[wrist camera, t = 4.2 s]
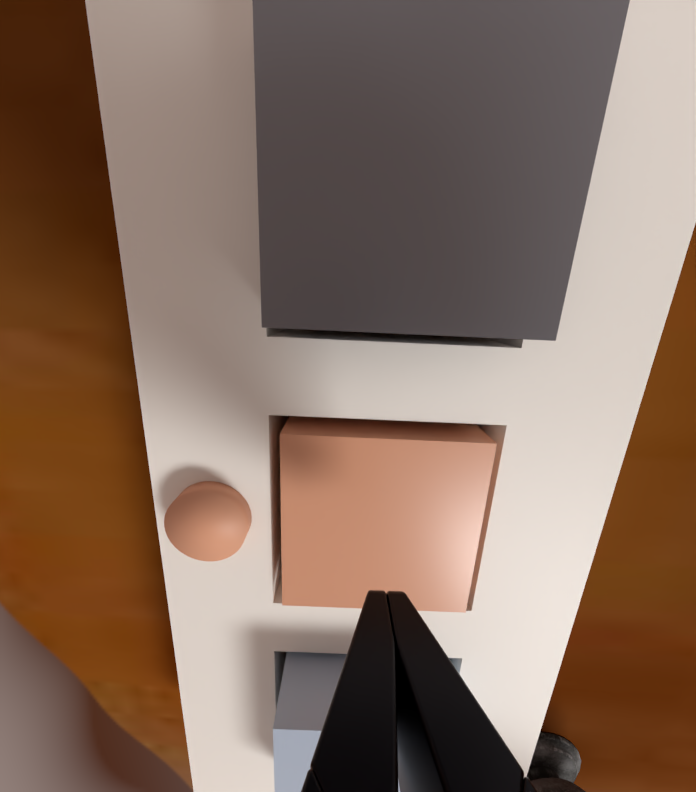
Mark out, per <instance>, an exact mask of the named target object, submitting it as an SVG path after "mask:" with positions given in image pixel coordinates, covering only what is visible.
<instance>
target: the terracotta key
mask: <svg viewBox="0 0 696 792" xmlns="http://www.w3.org/2000/svg"><path fill="white" fill-rule="evenodd" d="M496 446H497V443H496V442H495V441H494V440H493V439H491V438H490V437H489V436H488V435H487V434H486V433H485V432H484V431H483V430H482V429H481V428H480V427H479V426H478V425H477V424H465V423H442V422H419V421H396V420H373V419H350V418H327V417H304V416H289V418H288V420H287V422H286V424H285V425H284V427H283V429H282V431H281V433H280V489H281V559H282V605H286V606H311V607H337V608H362V607H363V604H364V601H365V598H366V595H367V592H368V591H369V590H383V591H385V592H386V593H387V592H388V591H403V592H405V593H406V595H407V596H408V598H409V599H410V601H411V602H412V604H413V605H414V607H415V608H416V610H417V611H438V612H464V613H466V609H467V603H468V598H469V592H470V587H471V581H472V576H473V571H474V565H475V560H476V554H477V549H478V544H479V538H480V533H481V527H482V522H483V516H484V511H485V506H486V500H487V495H488V489H489V484H490V479H491V473H492V468H493V462H494V457H495V452H496Z"/></svg>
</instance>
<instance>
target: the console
mask: <svg viewBox="0 0 696 792" xmlns="http://www.w3.org/2000/svg"><path fill="white" fill-rule="evenodd" d="M85 3H86V10H87V18H88V25H89V32H90V40H91V47H92V54H93V61H94V69H95V76H96V83H97V91H98V98H99V105H100V112H101V120H102V127H103V134H104V142H105V149H106V156H107V163H108V171H109V178H110V185H111V193H112V200H113V207H114V214H115V222H116V229H117V236H118V244H119V251H120V258H121V265H122V273H123V280H124V287H125V295H126V302H127V309H128V316H129V324H130V331H131V338H132V346H133V353H134V360H135V367H136V375H137V382H138V389H139V397H140V404H141V411H142V418H143V426H144V433H145V440H146V448H147V455H148V462H149V469H150V477H151V484H152V491H153V499H154V506H155V513H156V520H157V528H158V535H159V542H160V550H161V557H162V564H163V571H164V579H165V586H166V593H167V601H168V608H169V615H170V622H171V630H172V637H173V644H174V652H175V659H176V666H177V673H178V681H179V688H180V695H181V703H182V710H183V717H184V724H185V732H186V739H187V746H188V754H189V761H190V768H191V775H192V783H193V790H194V792H275V787H274V752H273V725H274V720H275V714H276V709H277V703H278V698H279V692H280V687H281V681H282V676H283V670H284V665H285V659H286V653H287V652H310V653H336V654H347V652H348V649H349V646H350V643H351V640H352V637H353V634H354V631H355V628H356V625H357V622H358V619H359V616H360V613H361V610H362V608H337V607H311V606H286V605H282V559H281V489H280V433H281V431H282V429H283V427H284V425H285V424H286V422H287V420H288V416H304V417H327V418H350V419H373V420H396V421H419V422H442V423H465V424H477V425H478V426H479V427H480V428H481V429H482V430H483V431H484V432H485V433H486V434H487V435H488V436H489V437H490V438H491V439H493V440H494V441H495V442H496V443H497V446H496V452H495V457H494V462H493V468H492V473H491V479H490V484H489V489H488V495H487V500H486V506H485V511H484V516H483V522H482V527H481V533H480V538H479V544H478V549H477V554H476V560H475V565H474V571H473V576H472V581H471V587H470V592H469V598H468V603H467V609H466V613H464V612H438V611H418V613H419V614H420V616H421V617H422V619H423V620H424V622H425V623H426V625H427V626H428V628H429V629H430V631H431V632H432V634H433V635H434V637H435V638H436V640H437V641H438V643H439V644H440V646H441V647H442V649H443V650H444V652H445V653H446V655H447V656H448V658H449V659H450V661H451V662H452V664H453V665H454V667H455V668H456V670H457V671H458V673H459V674H460V676H461V677H462V679H463V680H464V682H465V683H466V685H467V686H468V688H469V689H470V691H471V692H472V694H473V695H474V697H475V698H476V700H477V701H478V703H479V704H480V706H481V707H482V709H483V710H484V712H485V713H486V715H487V716H488V718H489V719H490V721H491V722H492V724H493V725H494V727H495V728H496V730H497V731H498V733H499V734H500V736H501V737H502V739H503V740H504V742H505V744H506V745H507V747H508V748H509V750H510V751H511V753H512V754H513V756H514V757H515V759H516V760H517V762H518V763H519V765H520V766H521V768H522V769H523V771H524V777H527V774H528V770H529V767H530V764H531V760H532V757H533V754H534V751H535V747H536V744H537V741H538V737H539V734H540V731H541V728H542V724H543V721H544V718H545V715H546V711H547V708H548V705H549V701H550V698H551V695H552V692H553V688H554V685H555V682H556V678H557V675H558V672H559V669H560V665H561V662H562V659H563V656H564V652H565V649H566V646H567V642H568V639H569V636H570V633H571V629H572V626H573V623H574V619H575V616H576V613H577V610H578V606H579V603H580V600H581V597H582V593H583V590H584V587H585V583H586V580H587V577H588V574H589V570H590V567H591V564H592V560H593V557H594V554H595V551H596V547H597V544H598V541H599V538H600V534H601V531H602V528H603V524H604V521H605V518H606V515H607V511H608V508H609V505H610V501H611V498H612V495H613V492H614V488H615V485H616V482H617V479H618V475H619V472H620V469H621V465H622V462H623V459H624V456H625V452H626V449H627V446H628V442H629V439H630V436H631V433H632V429H633V426H634V423H635V420H636V416H637V413H638V410H639V406H640V403H641V400H642V397H643V393H644V390H645V387H646V383H647V380H648V377H649V374H650V370H651V367H652V364H653V361H654V357H655V354H656V351H657V347H658V344H659V341H660V338H661V334H662V331H663V328H664V324H665V321H666V318H667V315H668V311H669V308H670V305H671V302H672V298H673V295H674V292H675V288H676V285H677V282H678V279H679V275H680V272H681V269H682V265H683V262H684V259H685V256H686V252H687V249H688V246H689V243H690V239H691V236H692V233H693V229H694V226H695V223H696V0H630V2H629V7H628V11H627V16H626V20H625V25H624V30H623V34H622V39H621V43H620V48H619V53H618V57H617V62H616V66H615V71H614V76H613V80H612V85H611V89H610V94H609V98H608V103H607V108H606V112H605V117H604V121H603V126H602V131H601V135H600V140H599V144H598V149H597V154H596V158H595V163H594V167H593V172H592V176H591V181H590V186H589V190H588V195H587V199H586V204H585V209H584V213H583V218H582V222H581V227H580V231H579V236H578V241H577V245H576V250H575V254H574V259H573V264H572V268H571V273H570V277H569V282H568V287H567V291H566V296H565V300H564V305H563V309H562V314H561V319H560V323H559V328H558V332H557V337H556V341H548V340H526V339H504V338H482V337H460V336H438V335H416V334H394V333H372V332H350V331H328V330H306V329H284V328H262V322H261V286H260V251H259V215H258V179H257V144H256V108H255V73H254V37H253V1H252V0H85Z"/></svg>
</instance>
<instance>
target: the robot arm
mask: <svg viewBox="0 0 696 792" xmlns="http://www.w3.org/2000/svg"><path fill="white" fill-rule="evenodd" d="M398 780H399V787H400V792H538V791H537V790H536V788H535V787H534V785H533V784H532V782H531V781H530V779H529V778H528V777H524V771H523V769H522V768H521V766H520V765H519V763H518V762H517V760H516V759H515V757H514V756H513V754H512V753H511V751H510V750H509V748H508V747H507V745H506V744H505V742H504V740H503V739H502V737H501V736H500V734H499V733H498V731H497V730H496V728H495V727H494V725H493V724H492V722H491V721H490V719H489V718H488V716H487V715H486V713H485V712H484V710H483V709H482V707H481V706H480V704H479V703H478V701H477V700H476V698H475V697H474V695H473V694H472V692H471V691H470V689H469V688H468V686H467V685H466V683H465V682H464V680H463V679H462V677H461V676H460V674H459V673H458V671H457V670H456V668H455V667H454V665H453V664H452V662H451V661H450V659H449V658H448V656H447V655H446V653H445V652H444V650H443V649H442V647H441V646H440V644H439V643H438V641H437V640H436V638H435V637H434V635H433V634H432V632H431V631H430V629H429V628H428V626H427V625H426V623H425V622H424V620H423V619H422V617H421V616H420V614H419V613H418V611H417V610H416V608H415V607H414V605H413V604H412V602H411V601H410V599H409V598H408V596H407V595H406V593H405V592H403V591H388V592H387V593H386V592H385V591H383V590H369V591H368V592H367V595H366V598H365V601H364V604H363V607H362V610H361V613H360V616H359V619H358V622H357V625H356V628H355V631H354V634H353V637H352V640H351V643H350V646H349V649H348V652H347V655H346V658H345V661H344V664H343V667H342V670H341V673H340V677H339V680H338V683H337V686H336V689H335V692H334V695H333V698H332V701H331V704H330V707H329V710H328V713H327V716H326V719H325V722H324V725H323V728H322V731H321V734H320V737H319V740H318V743H317V746H316V749H315V752H314V755H313V758H312V761H311V764H310V769H309V770H308V772H307V775H306V778H305V781H304V784H303V787H302V790H301V792H398Z"/></svg>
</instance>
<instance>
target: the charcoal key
mask: <svg viewBox="0 0 696 792" xmlns="http://www.w3.org/2000/svg"><path fill="white" fill-rule="evenodd" d="M252 1H253V37H254V73H255V108H256V144H257V179H258V215H259V251H260V286H261V322H262V328H284V329H306V330H328V331H350V332H372V333H394V334H416V335H438V336H460V337H482V338H504V339H526V340H548V341H556V337H557V332H558V328H559V323H560V319H561V314H562V309H563V305H564V300H565V296H566V291H567V287H568V282H569V277H570V273H571V268H572V264H573V259H574V254H575V250H576V245H577V241H578V236H579V231H580V227H581V222H582V218H583V213H584V209H585V204H586V199H587V195H588V190H589V186H590V181H591V176H592V172H593V167H594V163H595V158H596V154H597V149H598V144H599V140H600V135H601V131H602V126H603V121H604V117H605V112H606V108H607V103H608V98H609V94H610V89H611V85H612V80H613V76H614V71H615V66H616V62H617V57H618V53H619V48H620V43H621V39H622V34H623V30H624V25H625V20H626V16H627V11H628V7H629V2H630V0H252Z"/></svg>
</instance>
